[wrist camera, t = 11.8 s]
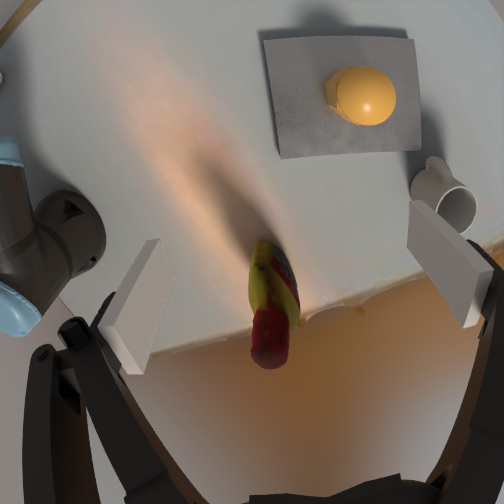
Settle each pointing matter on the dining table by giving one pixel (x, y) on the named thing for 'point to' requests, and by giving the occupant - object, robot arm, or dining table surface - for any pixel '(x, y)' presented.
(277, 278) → the bottle
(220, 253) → the dining table surface
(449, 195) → the cup
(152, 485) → the robot arm
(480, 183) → the dining table surface
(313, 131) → the plate
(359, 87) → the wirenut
